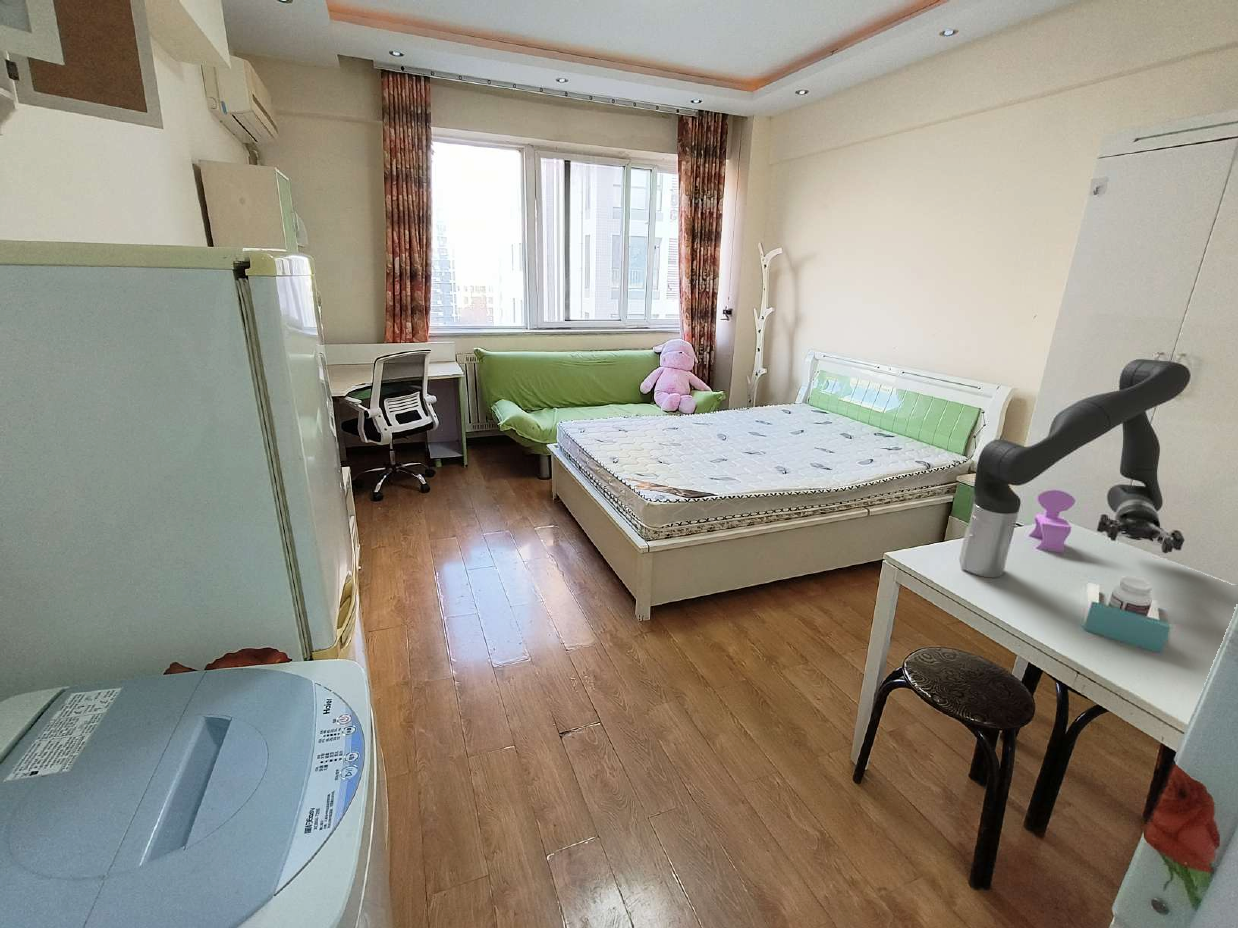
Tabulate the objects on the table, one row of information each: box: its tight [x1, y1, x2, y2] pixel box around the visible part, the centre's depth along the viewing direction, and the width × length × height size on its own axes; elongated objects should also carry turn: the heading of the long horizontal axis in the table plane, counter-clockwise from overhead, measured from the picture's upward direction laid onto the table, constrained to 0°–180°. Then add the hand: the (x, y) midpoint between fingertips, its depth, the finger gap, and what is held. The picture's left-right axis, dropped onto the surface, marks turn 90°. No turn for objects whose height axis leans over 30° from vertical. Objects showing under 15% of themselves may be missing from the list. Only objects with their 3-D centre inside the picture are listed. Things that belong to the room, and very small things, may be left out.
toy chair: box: [1028, 489, 1076, 553], centre depth 152 cm, size 8×9×15 cm
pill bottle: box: [1107, 576, 1153, 616], centre depth 117 cm, size 6×6×11 cm
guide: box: [1083, 582, 1171, 654], centre depth 122 cm, size 20×12×6 cm, turn 141°
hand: (1140, 542), depth 122 cm, fingers open, 8 cm apart
